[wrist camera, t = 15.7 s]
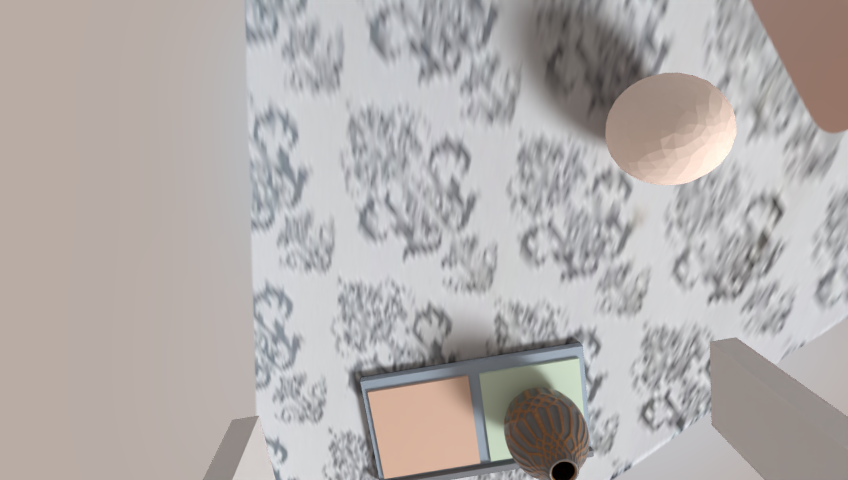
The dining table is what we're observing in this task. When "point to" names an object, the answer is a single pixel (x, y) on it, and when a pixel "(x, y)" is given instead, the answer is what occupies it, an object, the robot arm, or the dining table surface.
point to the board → (461, 411)
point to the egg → (670, 129)
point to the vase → (546, 434)
